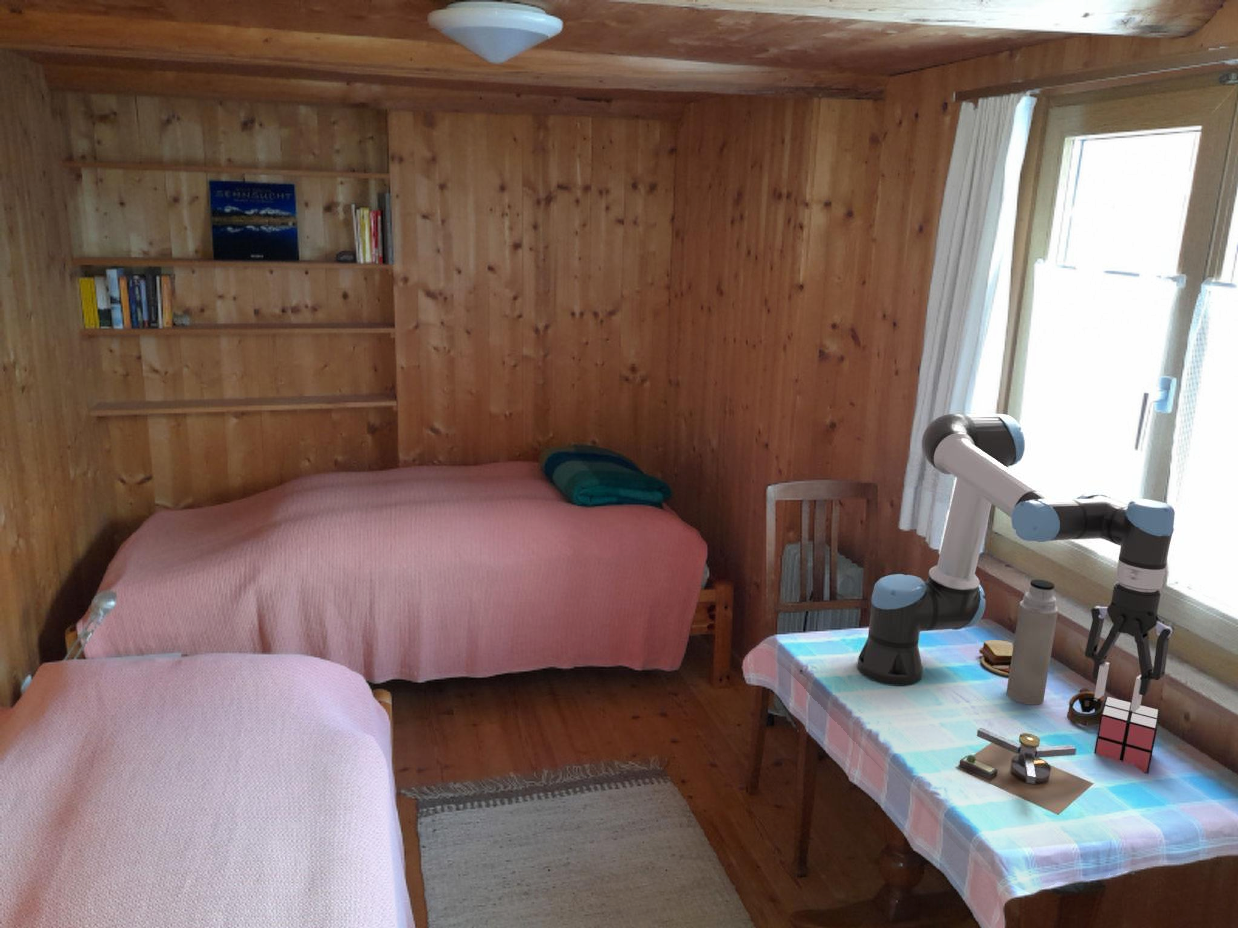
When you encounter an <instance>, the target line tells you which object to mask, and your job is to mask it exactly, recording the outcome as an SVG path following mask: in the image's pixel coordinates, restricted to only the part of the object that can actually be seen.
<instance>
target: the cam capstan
mask: <svg viewBox="0 0 1238 928" xmlns="http://www.w3.org/2000/svg"><path fill="white" fill-rule="evenodd" d="M976 737H978V738H980V739H982V740H985V741H987V742H989V743H994V744H996V745H998V746H1000V747H1003V748H1005V749H1007V750H1009V751H1012V752H1014V753H1016V754H1019V755H1015V756H1013V757H1012V761H1011V767H1010V771H1011V773H1012V774H1013V775H1014V776H1015V777H1016V778H1018V779H1020V780H1022V781H1024V782H1027V783H1032V784H1044V783H1047V782H1048V781H1049V777H1050V771H1051V767H1050V765H1051V764H1049V763H1048V762H1047V761H1046V760H1045V759H1043V758H1053V757H1069V756H1076V753H1077V748H1076V747H1075V745H1073V744H1062V745H1061V744H1060V745H1050V746H1048V745H1047V746H1040V742H1041V740H1040V738H1039V737H1038V736H1037V735H1035V734H1032V733H1028V732H1027V733H1025V732H1024V733H1023V732H1022V733H1020V734H1019V738H1018V742H1019V743H1020V744H1019V743H1018V742H1015V741H1013V740H1011V739H1008V738H1006V737H1003V736H1002V735H999V734H997V733H995V732H993V731H990V730H987V729H985V728H983V727H980V728H978V729H977V731H976Z"/></svg>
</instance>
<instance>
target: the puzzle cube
mask: <svg viewBox="0 0 1238 928" xmlns="http://www.w3.org/2000/svg"><path fill="white" fill-rule="evenodd" d="M1131 703H1132V702H1130V701H1125V700H1122V699H1117V698H1114V697H1110V696H1107V697H1105V702H1104V705H1103V709H1102V712H1101V716H1100V722H1099V724H1098V729H1097V734H1096V740H1095V745H1094V752H1093V754H1096V755H1098V756H1102V757H1106V758H1109V759H1113V760H1116V761H1121V762H1123V763H1126V764H1130V765H1133V766H1134V767H1135V768H1137V769H1139V770H1140V771H1141V772H1142V773H1144V774H1149V773H1150V767H1151V762H1152V756H1153V751H1154V746H1155V742H1156V738H1157V737H1156V736H1157V730H1158V725H1159V720H1160V719H1159V717H1160V712H1161V711H1160V710H1159V709H1157V708H1153V707H1150V706H1149V707H1148V706H1145V705H1140V708H1139V709H1138V710H1136V711H1135V712H1133V711H1130V709H1131Z"/></svg>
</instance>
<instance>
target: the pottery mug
mask: <svg viewBox="0 0 1238 928" xmlns="http://www.w3.org/2000/svg"><path fill="white" fill-rule="evenodd" d="M1094 696H1095V692H1093V691H1091V690H1090V689H1089V688H1088V687H1083V688H1081V689H1080V690H1079V693H1076V694H1075V695H1073V696H1072V697H1071V698H1070V700H1069V702H1068V705H1069V707H1068V709H1067V710H1068V711H1067V713H1066V717H1067V719H1068V720H1069V721H1070V722H1072V723H1075V724H1077V725H1082V726H1087V725H1088V726H1092V725H1099V722H1100V716H1101V712H1102V709H1103V705H1104V702H1105V699H1104V697H1103V696H1102V697H1100V698H1099V699H1097V698H1094ZM1077 701H1078V702H1079V705H1080V709H1081V712H1079V711H1078V710H1076V709H1075V708H1074V705H1075V703H1076V702H1077ZM1093 710H1094V711H1093ZM1092 711H1093V712H1092Z"/></svg>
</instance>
